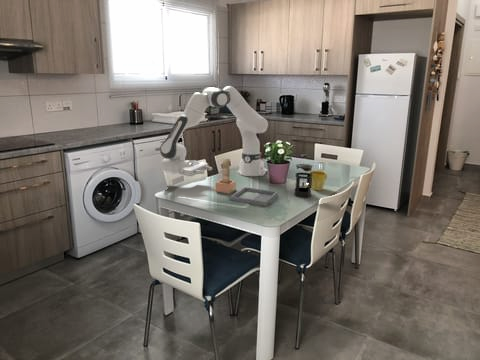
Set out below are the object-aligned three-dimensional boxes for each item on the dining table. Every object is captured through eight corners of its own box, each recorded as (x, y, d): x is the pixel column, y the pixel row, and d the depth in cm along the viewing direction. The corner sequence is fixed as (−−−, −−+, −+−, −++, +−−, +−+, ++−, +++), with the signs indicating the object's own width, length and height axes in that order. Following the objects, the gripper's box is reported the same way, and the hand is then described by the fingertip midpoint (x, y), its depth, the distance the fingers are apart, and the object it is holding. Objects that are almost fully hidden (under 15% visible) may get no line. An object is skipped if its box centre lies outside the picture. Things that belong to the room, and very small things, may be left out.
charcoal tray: (244, 191, 226) (244, 186, 225) (277, 196, 218) (278, 191, 217) (229, 201, 208) (229, 196, 207) (265, 206, 200) (265, 202, 200)
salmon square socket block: (222, 188, 229) (222, 178, 228) (235, 190, 226) (235, 180, 224) (215, 192, 222) (215, 182, 220) (229, 194, 219) (229, 184, 217)
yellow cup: (323, 186, 238) (324, 170, 236) (327, 191, 228) (329, 175, 226) (306, 186, 238) (307, 170, 235) (309, 191, 228) (311, 174, 225)
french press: (302, 199, 213) (305, 157, 207) (289, 195, 220) (291, 154, 214) (316, 195, 221) (319, 154, 215) (303, 191, 228) (305, 151, 222)
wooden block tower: (224, 189, 226) (224, 158, 221) (230, 190, 225) (230, 158, 220) (221, 190, 223) (221, 159, 218) (227, 191, 221) (227, 160, 216)
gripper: (176, 166, 221) (198, 169, 215) (195, 159, 239) (215, 161, 234) (177, 177, 223) (198, 180, 217) (195, 169, 241) (215, 172, 235)
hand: (207, 170), depth 226 cm, fingers open, 8 cm apart
